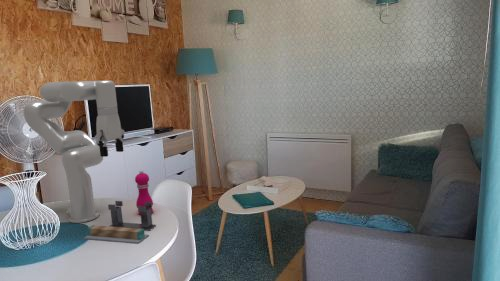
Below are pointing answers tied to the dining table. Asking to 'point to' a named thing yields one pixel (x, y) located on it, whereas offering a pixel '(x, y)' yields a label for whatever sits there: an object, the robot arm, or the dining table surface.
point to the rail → (116, 232)
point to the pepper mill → (143, 190)
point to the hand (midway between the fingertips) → (112, 153)
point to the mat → (115, 239)
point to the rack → (145, 223)
